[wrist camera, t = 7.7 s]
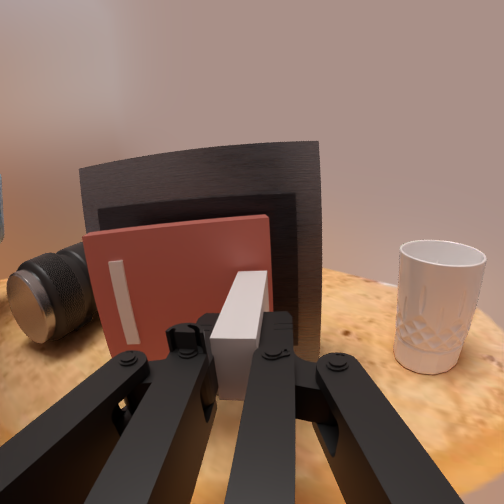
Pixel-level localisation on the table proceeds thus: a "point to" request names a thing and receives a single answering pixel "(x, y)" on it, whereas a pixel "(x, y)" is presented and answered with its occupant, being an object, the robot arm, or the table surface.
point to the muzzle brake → (52, 294)
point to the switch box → (229, 210)
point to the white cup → (435, 303)
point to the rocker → (170, 275)
